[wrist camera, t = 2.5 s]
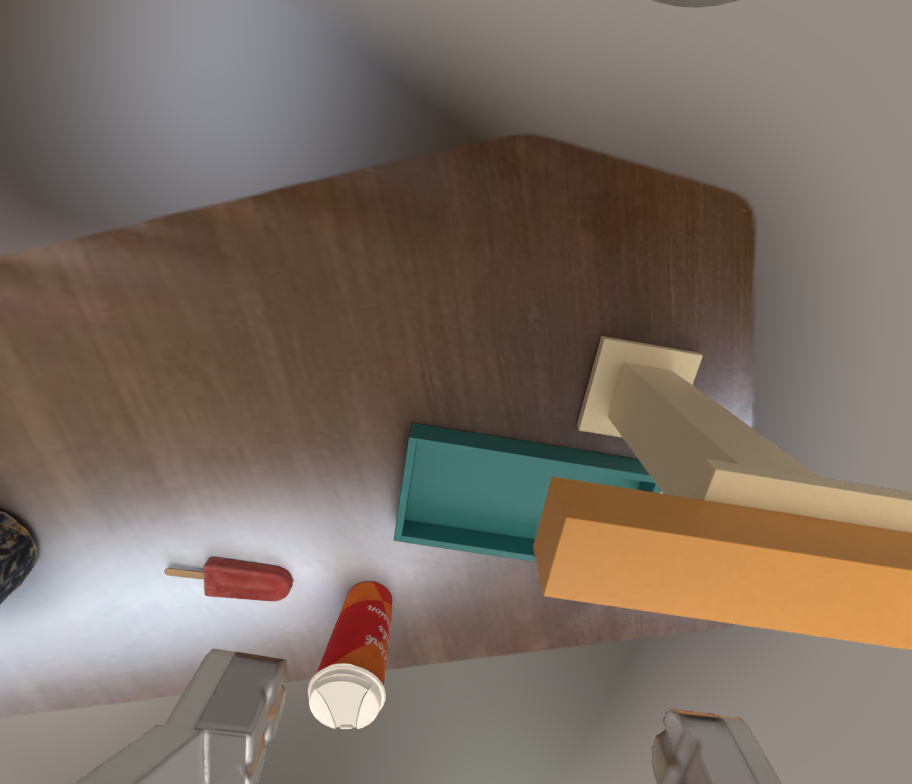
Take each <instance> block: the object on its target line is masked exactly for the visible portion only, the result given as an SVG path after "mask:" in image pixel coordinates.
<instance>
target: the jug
mask: <svg viewBox="0 0 912 784" xmlns="http://www.w3.org/2000/svg"><path fill="white" fill-rule="evenodd" d="M37 558H38V552H37V546H36V545H35V543H34V541H33V539H32V537H31V536H30V534H29V533H28V531H27V530H26V529H25V528H24V527H23V526H21V525H20V524H19V523H18V522H17V521H16V520H15V519H14V518H12V517H11V516H10V515H8V514H7V513H4V512H1V511H0V604H1V603H2V602H3V601H4V600H5V599H6V598H7V597H8V596H9V595H10V594H11V593H12V592H13V591H14V590H15V589H16V588H17V587H19V586H20V585H21V583H22V582H23V581H24V579H25V578H26V577H27V575H28V574H29V573H30V572H31V570H32V568H33V567H34V565H35V564H36V561H37Z"/></svg>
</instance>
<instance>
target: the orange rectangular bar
mask: <svg viewBox="0 0 912 784" xmlns="http://www.w3.org/2000/svg"><path fill="white" fill-rule="evenodd" d="M533 549H534V554H535V559H536V563H537V568H538V573H539V577H540V582H541V587H542V592H543V596H547V597H554V598H560V599H567V600H574V601H581V602H588V603H595V604H601V605H608V606H615V607H622V608H629V609H635V610H642V611H649V612H656V613H663V614H670V615H676V616H683V617H690V618H697V619H704V620H710V621H717V622H724V623H731V624H738V625H745V626H752V627H758V628H765V629H772V630H779V631H785V632H792V633H799V634H806V635H813V636H820V637H826V638H833V639H840V640H847V641H854V642H860V643H867V644H874V645H882V646H888V647H895V648H901V649H908V650H912V533H908V532H901V531H895V530H889V529H882V528H876V527H870V526H863V525H857V524H851V523H844V522H838V521H832V520H825V519H819V518H813V517H806V516H800V515H794V514H787V513H781V512H775V511H768V510H762V509H756V508H749V507H743V506H737V505H730V504H724V503H718V502H711V501H705V500H699V499H692V498H686V497H680V496H673V495H667V494H661V493H654V492H648V491H641V490H635V489H629V488H622V487H616V486H610V485H603V484H597V483H591V482H584V481H578V480H572V479H565V478H559V477H552V478H551V482H550V485H549V489H548V493H547V497H546V500H545V504H544V508H543V512H542V515H541V519H540V523H539V527H538V530H537V534H536V538H535V541H534V545H533Z"/></svg>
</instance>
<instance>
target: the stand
mask: <svg viewBox="0 0 912 784" xmlns="http://www.w3.org/2000/svg"><path fill="white" fill-rule="evenodd" d="M702 356H703V355H701V354H700V353H698V352H693V351H687V350H682V349H676V348H670V347H664V346H658V345H652V344H647V343H641V342H635V341H629V340H623V339H617V338H612V337H606V336H601V339H600V343H599V346H598V350H597V353H596V357H595V361H594V364H593V368H592V372H591V375H590V379H589V382H588V386H587V390H586V393H585V397H584V401H583V404H582V408H581V411H580V415H579V419H578V422H577V428H578V430H579V431H585V432H592V433H598V434H604V435H610V436H616V437H622V438H623V439H624V440H625V442H626V443H627V444H628V446H629V447H630V448H631V450H632V451H633V453H634V454H635V455H636V457H637V458H638V459H639V461H640V462H641V463H642V465H643V466H644V468H645V469H646V470H647V472H648V473H649V474H650V476H651V477H652V479H653V480H654V481H655V483H656V484H657V485H658V487H659V488H660V489H661V491H662V492H663V494H667V495H673V496H680V497H686V498H692V499H699V500H705V501H711V502H718V503H724V504H730V505H737V506H743V507H749V508H756V509H762V510H768V511H775V512H781V513H787V514H794V515H800V516H806V517H813V518H819V519H825V520H832V521H838V522H844V523H851V524H857V525H863V526H870V527H876V528H882V529H889V530H895V531H901V532H908V533H912V492H908V491H902V490H896V489H890V488H884V487H877V486H871V485H865V484H859V483H853V482H846V481H840V480H834V479H828V478H821V477H819V476H817V475H816V474H814V473H813V472H811V471H810V470H809V469H808V468H806V467H805V466H803V465H802V464H801V463H799V462H798V461H797V460H795V459H794V458H792V457H791V456H789V455H788V454H787V453H785V452H784V451H783V450H781V449H780V448H779V447H777V446H776V445H774V444H773V443H771V442H770V441H769V440H767V439H766V438H765V437H763V436H762V435H761V434H759V433H758V432H756V431H755V430H754V429H752V428H751V427H750V426H748V425H747V424H745V423H744V422H743V421H741V420H740V419H738V418H737V417H736V416H734V415H733V414H732V413H730V412H729V411H727V410H726V409H725V408H723V407H722V406H721V405H719V404H718V403H716V402H715V401H714V400H712V399H711V398H709V397H708V396H707V395H705V394H704V393H703V392H701V391H700V390H698V389H697V388H696V387H694V386H693V382H694V379H695V376H696V373H697V371H698V368H699V365H700V362H701V359H702Z"/></svg>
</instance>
